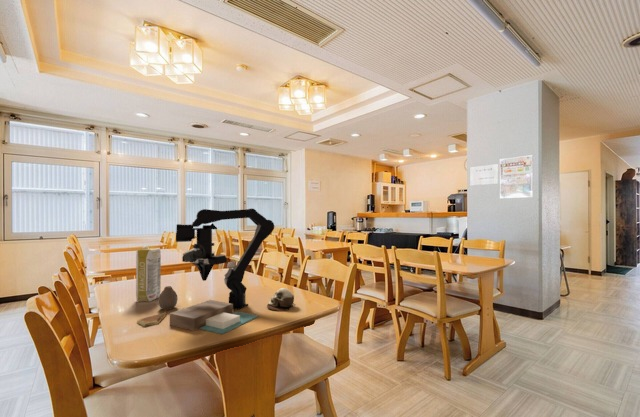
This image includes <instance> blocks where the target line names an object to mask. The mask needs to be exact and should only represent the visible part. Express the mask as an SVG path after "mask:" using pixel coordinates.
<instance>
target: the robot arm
mask: <svg viewBox="0 0 640 417" xmlns="http://www.w3.org/2000/svg"><path fill="white" fill-rule="evenodd" d="M233 219H234V220H236V219H250V221H251V222H253V223H254V224H255V225H256V228H255V230H254V235H253V238H251V241H250V242H249V244H248V246H247V247H246V249H245V251H244V252H243V254H242V255H241V257H240V258H239V260H238V262H237V264H236V265H235V266H233V268H232V267H231V266H230V267H229V268H228V270H227V272H226V273H225V274H224V278H223V280H224V284H225V286H226V287H227V289H228V290H229V291H230V292H229V294H228V303H232V304H233V310H241V309H243V308H245V307H247V306H249V303H246V291H247V287H246V286H245V285H244V284H243V279H244V276H245V272H246V270H247V268H248V267H249V264H250V263H251V262H252V260H253V258H254V256H255V254H256V253H257V251H258V250H259V248H260V247H261V244H262V243H263V242H264V241H265V240H266V239H267V238H268V237H269V236H270V235H271V234H272V232H273V231H274V229H275V223H274V222H273V220H270V219H267V218H266V217H264V215H262V214H261V213H259V212H258V211H257V209H255V208H248V209H231V210H214V209H207V208H205V209H204V208H203V209H200V210H198V212H197V213H196V219H194V221H192V223H191V224H182V223H181V224H180V223H179V224H178V223H177V224H176V229H175V230H176V231H175V243H183V242H193V240H194V239H196V243H194V244H193V248H191V249H189V250H187V251H185V252H184V253H182V262H184V263H188V262H189V263H192V265H193V266H195V267H196V268H197V270H198V271H199V274H200V277H201V280H202V281H203V282H205V281H207V279H208V277H209V275H210V273H211V271H212V269H213V267H214V266H215V265H221V264H226V263H227V262H228V258H227V256H226V255H222V254H217V255H215V252H213V247H214V246H215V242H213V230H217V229H218V227H217V226H215V224H214V223H215V222H218V221H222V220H225V221H226V220H233ZM207 224H208V225H207ZM200 226H202V227H200ZM195 237H196V238H195Z"/></svg>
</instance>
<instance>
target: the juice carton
mask: <svg viewBox="0 0 640 417" xmlns="http://www.w3.org/2000/svg"><path fill="white" fill-rule="evenodd" d="M141 248H142V249H136V257H135V258H136V260H135V261H136V262H135V264H136V265H135V267H136V269H135V273H136V274H135V293H136V294H135V298H136V302H151V301H154V300H156V299H159V296H160V294H161V292H162V291H161V289H162V286H161V284H162V283H161V282H162V281H161V280H162V279H161V278H162V276H161V273H162V272H161V270H162V269H161V267H162V265H161V264H162V262H161V258H162V255H161V248H160V247H149V245H144V246H141Z"/></svg>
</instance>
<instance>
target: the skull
mask: <svg viewBox="0 0 640 417" xmlns="http://www.w3.org/2000/svg"><path fill="white" fill-rule="evenodd" d="M294 301H295V296H294V294H293V292H292V291H290V289H288V288H286V287H281V288H279V289H277V291H276V292H275V293H274V294H273V296H272V297H271V298H270V301H268V304H267V305H266V306H267V308H268V309H269V310H272V311H277V312H286V311H287V312H289V311H290V309H291V308H293V306H294V307H296V306H297V305H296V303H295V302H294Z"/></svg>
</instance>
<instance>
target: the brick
mask: <svg viewBox="0 0 640 417" xmlns="http://www.w3.org/2000/svg"><path fill="white" fill-rule="evenodd" d="M223 312H224V313H229V314H234V309H233V304H232V303H229V302H226V301H219V300H212V299H209V300H205V301H202V302H200V303H196V304H194V305H191V306H188V307H184V308H182V309H179V310H175V311H172V312H169V326H173V327H177V328H181V329H184V330H189V331H192V332H195V331H198V330H201V329H200V328H201V327H203V326H206V319H208V318H210V317H213V316H215V315H218V314H220V313H223Z"/></svg>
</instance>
